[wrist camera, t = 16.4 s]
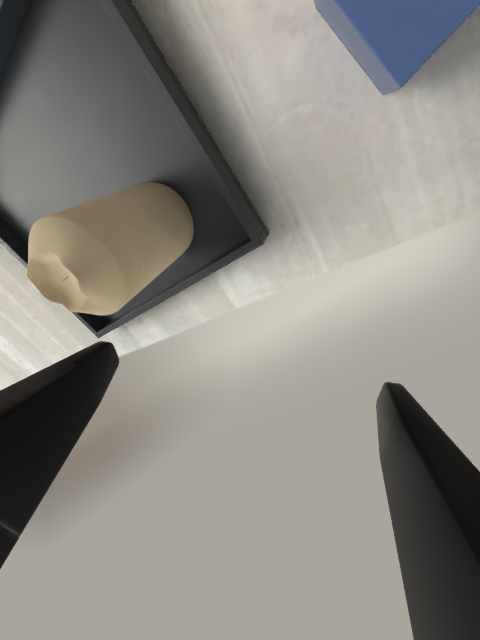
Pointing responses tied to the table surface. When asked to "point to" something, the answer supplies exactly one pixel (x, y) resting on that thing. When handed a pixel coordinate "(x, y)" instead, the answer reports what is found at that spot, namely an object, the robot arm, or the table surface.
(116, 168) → the tray
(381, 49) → the blue block
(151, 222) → the candle
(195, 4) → the table surface
